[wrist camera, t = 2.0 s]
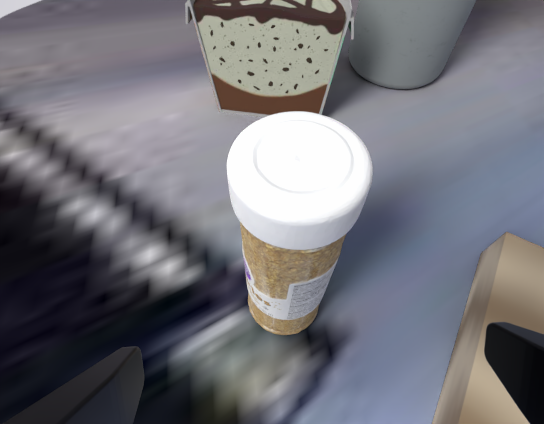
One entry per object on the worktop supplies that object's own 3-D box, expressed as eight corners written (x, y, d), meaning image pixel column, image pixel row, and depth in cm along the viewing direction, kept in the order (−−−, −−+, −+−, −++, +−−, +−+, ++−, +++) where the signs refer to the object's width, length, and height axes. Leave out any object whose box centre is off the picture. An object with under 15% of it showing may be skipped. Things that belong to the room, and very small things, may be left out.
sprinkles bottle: (236, 286, 22) (201, 132, 11) (297, 256, 23) (323, 90, 12) (269, 352, 20) (268, 245, 8) (334, 316, 21) (409, 179, 10)
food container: (339, 84, 34) (362, -32, 25) (335, 125, 30) (360, 8, 22) (220, 71, 35) (204, -44, 26) (203, 110, 31) (179, -7, 23)
